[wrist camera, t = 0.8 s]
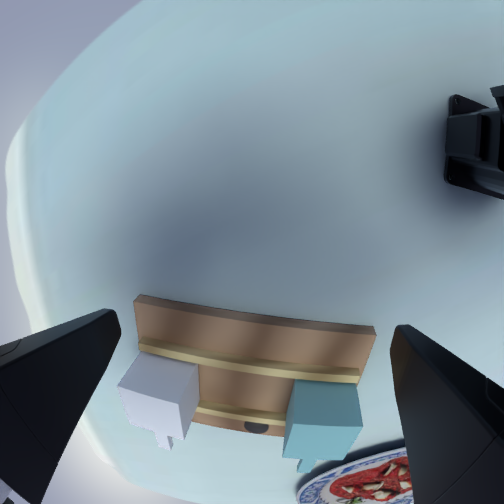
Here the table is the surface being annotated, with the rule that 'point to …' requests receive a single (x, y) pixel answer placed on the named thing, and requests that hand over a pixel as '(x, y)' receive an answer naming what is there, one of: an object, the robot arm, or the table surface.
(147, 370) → the fixed leg
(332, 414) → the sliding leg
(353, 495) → the ceramic plate
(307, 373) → the board
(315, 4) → the table surface
